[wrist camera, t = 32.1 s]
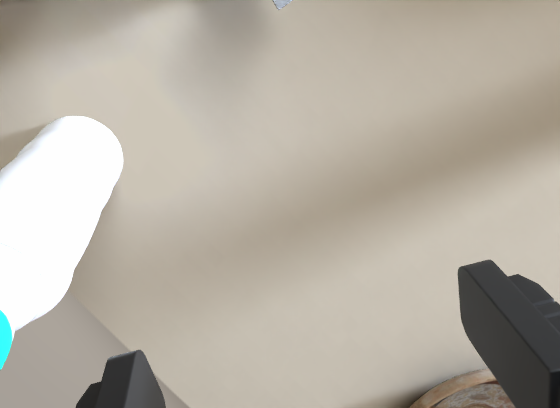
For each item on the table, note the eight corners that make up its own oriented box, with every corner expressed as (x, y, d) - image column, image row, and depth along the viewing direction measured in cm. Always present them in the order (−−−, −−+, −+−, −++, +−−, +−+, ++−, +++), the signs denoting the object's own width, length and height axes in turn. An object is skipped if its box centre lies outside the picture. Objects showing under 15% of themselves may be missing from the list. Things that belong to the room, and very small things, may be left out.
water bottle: (22, 126, 41) (-213, 322, 18) (105, 103, 41) (-30, 272, 18) (60, 200, 44) (-102, 445, 21) (136, 179, 44) (55, 402, 21)
